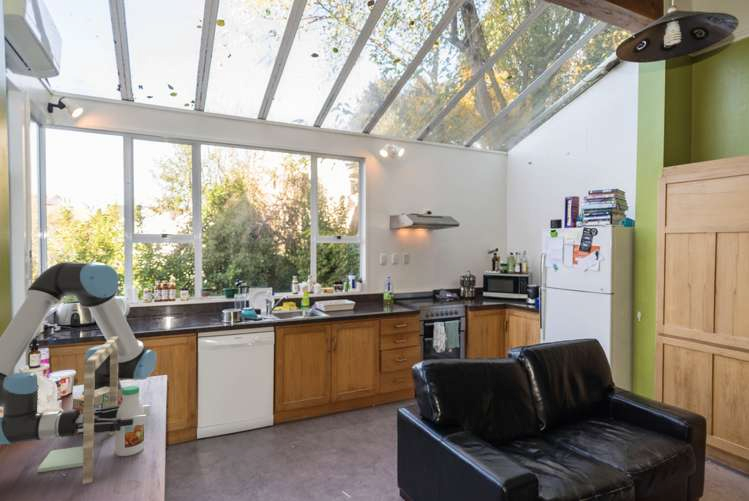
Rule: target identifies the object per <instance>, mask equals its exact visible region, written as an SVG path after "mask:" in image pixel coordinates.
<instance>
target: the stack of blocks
mask: <svg viewBox="0 0 749 501" xmlns="http://www.w3.org/2000/svg"><path fill="white" fill-rule="evenodd" d="M125 387H126V386H124V387H122V388H121V389H118V406H119V405H121V403H122V400H123V396H122V389H123V388H125ZM139 394H140V393H139ZM139 394H138V397H140V396H139ZM106 407H110V387H102V388H100V389H97V390H95V396H94V409H99V408H106ZM73 409H77V410H79V413H80V414H84V394H83V395H82V394H80V395H77V396H75V397H73V398H72V409H71V410H73ZM75 435H78V431H77V433H76V434H75ZM81 436H83V434H81Z"/></svg>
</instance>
